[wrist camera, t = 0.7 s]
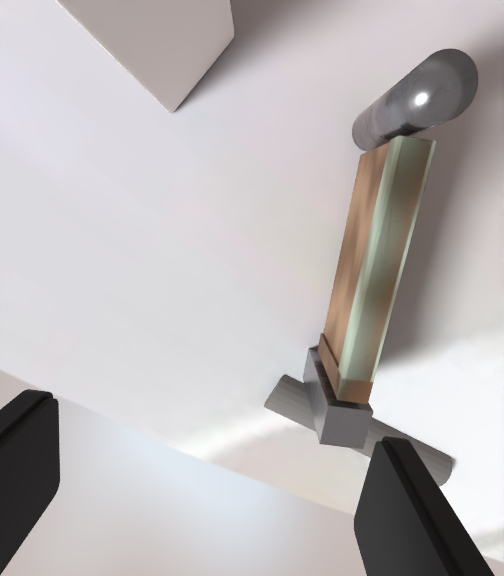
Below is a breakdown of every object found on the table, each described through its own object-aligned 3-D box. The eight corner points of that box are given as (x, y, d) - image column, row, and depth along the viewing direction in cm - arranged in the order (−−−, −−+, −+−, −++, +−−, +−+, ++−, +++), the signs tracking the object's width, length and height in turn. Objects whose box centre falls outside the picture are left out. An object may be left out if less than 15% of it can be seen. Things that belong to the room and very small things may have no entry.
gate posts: (396, 111, 24) (486, 53, 15) (334, 382, 30) (370, 466, 21) (357, 106, 24) (421, 44, 15) (303, 377, 30) (323, 460, 21)
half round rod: (281, 368, 31) (282, 378, 29) (450, 452, 33) (460, 466, 31) (260, 402, 32) (260, 414, 30) (424, 481, 34) (433, 496, 32)
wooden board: (358, 154, 24) (399, 135, 17) (384, 158, 24) (436, 141, 17) (317, 350, 28) (337, 400, 21) (340, 353, 28) (367, 404, 21)
